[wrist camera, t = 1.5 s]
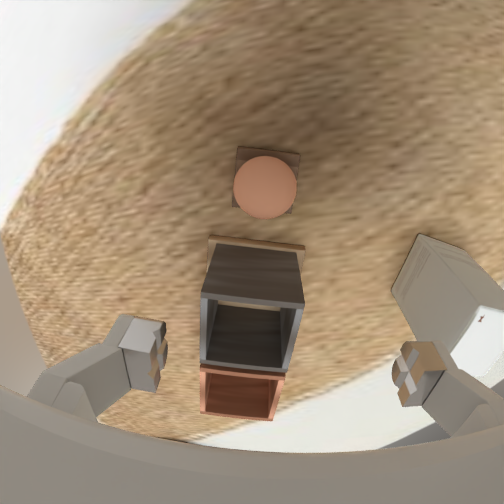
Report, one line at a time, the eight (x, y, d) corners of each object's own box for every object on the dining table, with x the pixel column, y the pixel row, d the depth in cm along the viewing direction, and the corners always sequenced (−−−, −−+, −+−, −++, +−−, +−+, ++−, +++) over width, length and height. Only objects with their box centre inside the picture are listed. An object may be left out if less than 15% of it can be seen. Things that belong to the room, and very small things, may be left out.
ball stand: (238, 146, 26) (237, 148, 25) (299, 153, 26) (300, 155, 25) (233, 203, 29) (231, 206, 28) (290, 210, 29) (291, 213, 28)
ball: (239, 148, 26) (233, 158, 21) (298, 155, 26) (304, 167, 22) (233, 203, 28) (227, 224, 24) (289, 210, 28) (294, 232, 24)
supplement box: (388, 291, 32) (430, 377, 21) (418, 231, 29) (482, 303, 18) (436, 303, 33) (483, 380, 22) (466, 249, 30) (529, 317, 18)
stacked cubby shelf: (210, 234, 30) (189, 287, 22) (304, 246, 30) (316, 301, 22) (205, 354, 37) (192, 413, 29) (278, 363, 38) (279, 423, 30)
